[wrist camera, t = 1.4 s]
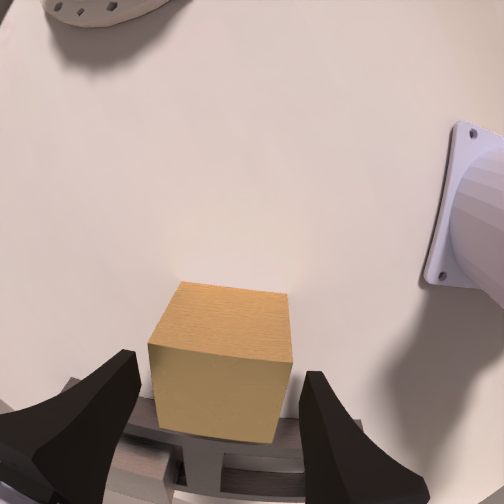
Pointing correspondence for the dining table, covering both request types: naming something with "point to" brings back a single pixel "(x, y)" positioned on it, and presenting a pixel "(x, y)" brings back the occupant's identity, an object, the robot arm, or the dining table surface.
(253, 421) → the brushed gold cube
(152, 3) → the mechanical component
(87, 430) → the robot arm
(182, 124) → the dining table surface
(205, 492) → the grey tray
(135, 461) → the silver gray cube
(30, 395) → the dining table surface
